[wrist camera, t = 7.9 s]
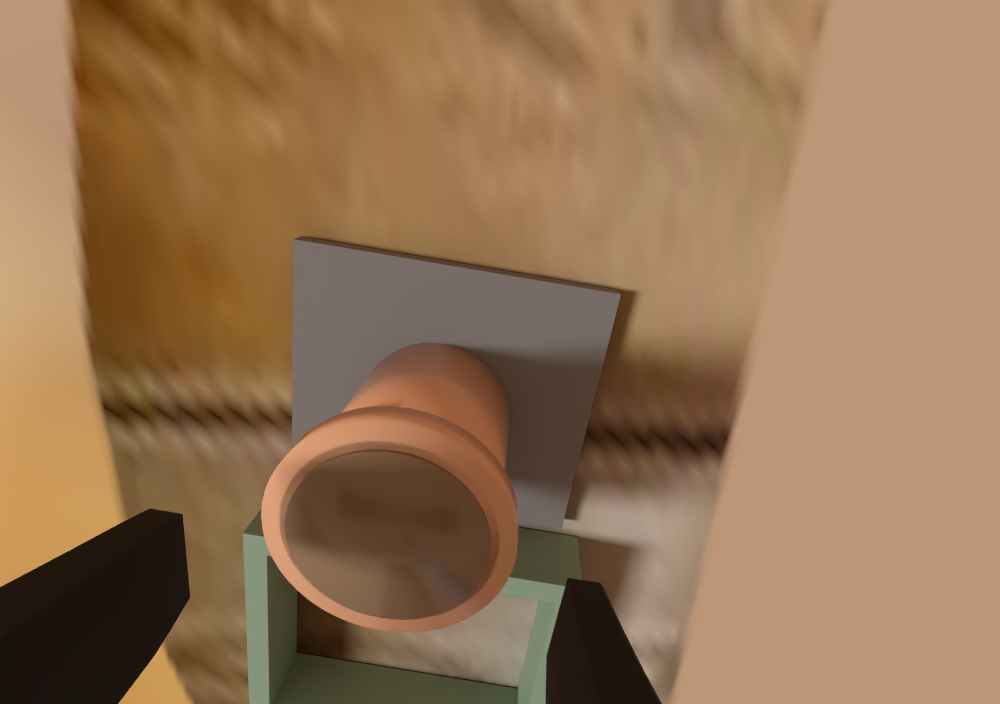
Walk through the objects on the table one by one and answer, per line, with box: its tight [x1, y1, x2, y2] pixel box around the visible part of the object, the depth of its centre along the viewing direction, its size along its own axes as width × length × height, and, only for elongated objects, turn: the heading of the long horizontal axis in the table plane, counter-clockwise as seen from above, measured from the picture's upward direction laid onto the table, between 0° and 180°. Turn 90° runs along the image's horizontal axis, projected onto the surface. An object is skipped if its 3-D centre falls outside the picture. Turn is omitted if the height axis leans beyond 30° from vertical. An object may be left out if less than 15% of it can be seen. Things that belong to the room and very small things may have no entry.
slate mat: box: [292, 236, 621, 530], centre depth 17 cm, size 9×10×1 cm
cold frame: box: [243, 509, 583, 704], centre depth 20 cm, size 10×12×2 cm
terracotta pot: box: [261, 343, 518, 632], centre depth 14 cm, size 6×6×6 cm
